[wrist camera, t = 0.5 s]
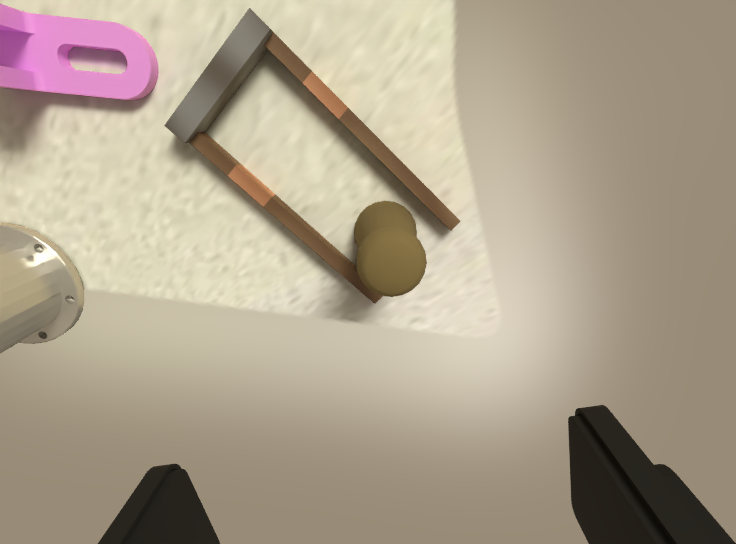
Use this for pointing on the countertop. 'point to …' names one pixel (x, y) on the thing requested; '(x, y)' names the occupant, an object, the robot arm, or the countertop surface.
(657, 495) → the robot arm
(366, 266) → the cork
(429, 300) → the countertop surface
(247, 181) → the guide channel
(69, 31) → the bracket
